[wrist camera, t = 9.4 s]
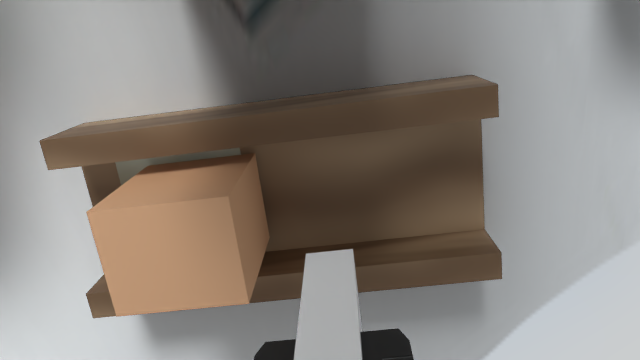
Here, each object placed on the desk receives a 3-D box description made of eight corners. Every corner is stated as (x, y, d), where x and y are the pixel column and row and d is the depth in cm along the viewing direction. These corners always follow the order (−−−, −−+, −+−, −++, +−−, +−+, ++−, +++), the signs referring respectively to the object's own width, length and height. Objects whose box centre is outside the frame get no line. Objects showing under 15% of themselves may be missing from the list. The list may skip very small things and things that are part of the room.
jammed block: (147, 165, 27) (86, 212, 20) (255, 152, 27) (228, 196, 20) (167, 248, 29) (116, 316, 22) (269, 237, 28) (249, 303, 22)
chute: (84, 123, 28) (39, 140, 24) (472, 74, 27) (498, 84, 23) (126, 277, 31) (93, 318, 27) (478, 241, 30) (501, 278, 26)
